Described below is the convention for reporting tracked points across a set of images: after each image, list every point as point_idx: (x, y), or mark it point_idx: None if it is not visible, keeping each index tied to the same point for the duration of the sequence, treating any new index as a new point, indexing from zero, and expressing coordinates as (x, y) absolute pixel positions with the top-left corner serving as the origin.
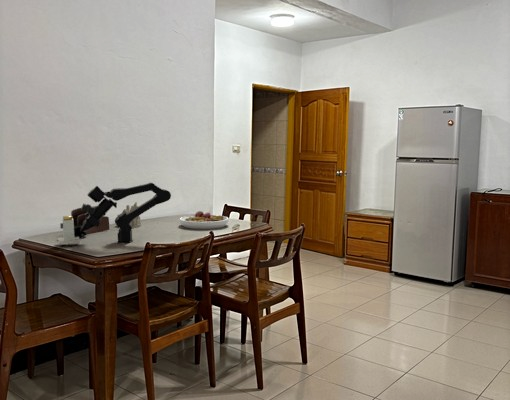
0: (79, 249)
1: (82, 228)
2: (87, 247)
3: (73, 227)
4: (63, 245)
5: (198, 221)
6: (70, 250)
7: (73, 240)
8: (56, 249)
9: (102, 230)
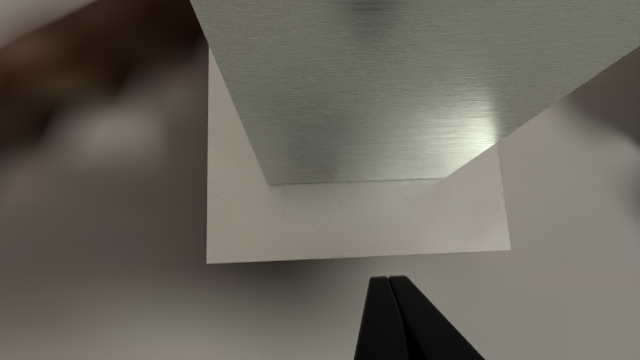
0: (40, 254)
1: (359, 335)
2: (129, 356)
3: (234, 102)
4: None
5: None
6: (25, 152)
7: (241, 170)
8: (144, 12)
9: None
